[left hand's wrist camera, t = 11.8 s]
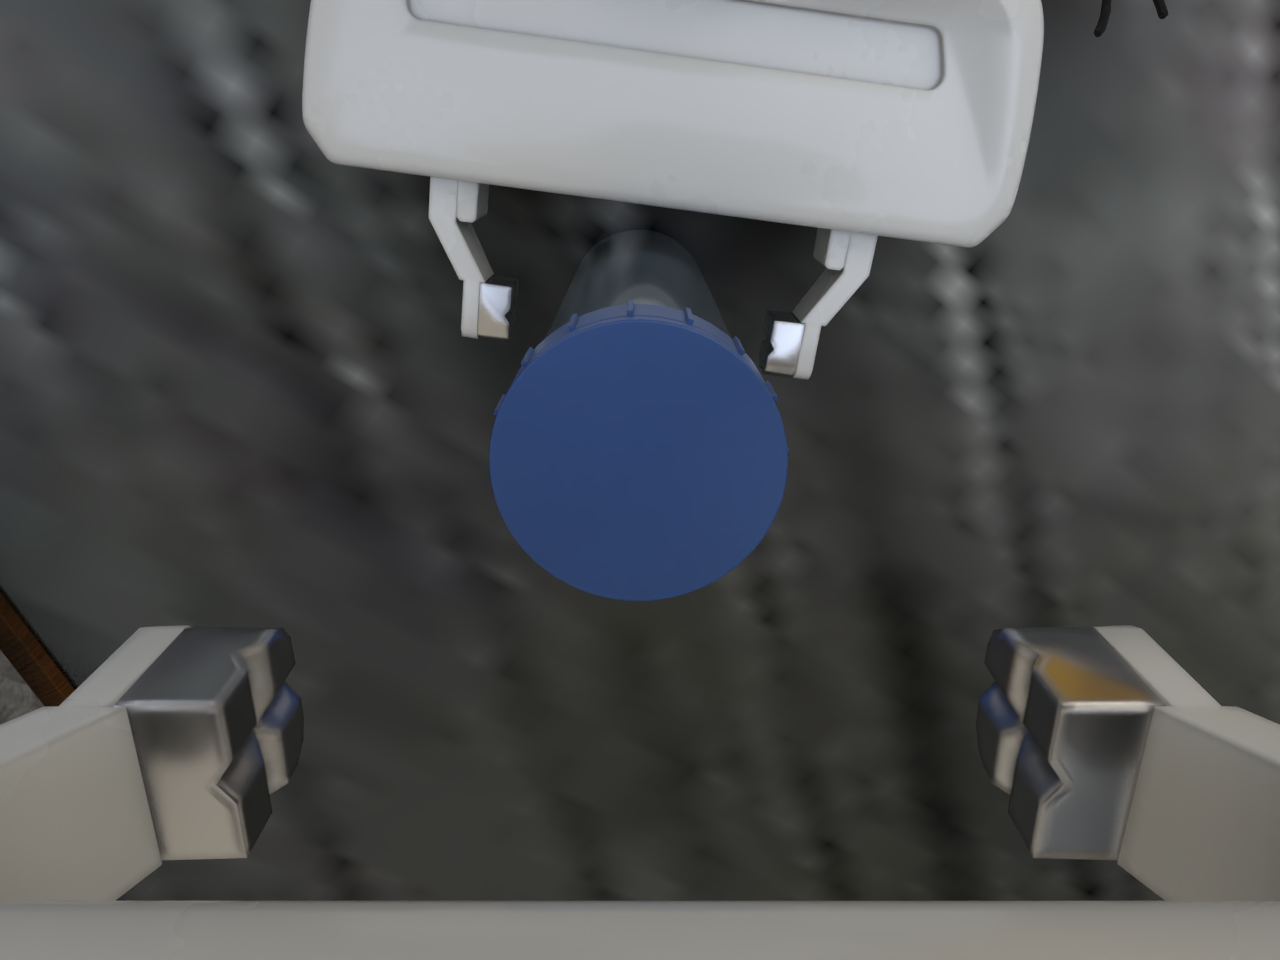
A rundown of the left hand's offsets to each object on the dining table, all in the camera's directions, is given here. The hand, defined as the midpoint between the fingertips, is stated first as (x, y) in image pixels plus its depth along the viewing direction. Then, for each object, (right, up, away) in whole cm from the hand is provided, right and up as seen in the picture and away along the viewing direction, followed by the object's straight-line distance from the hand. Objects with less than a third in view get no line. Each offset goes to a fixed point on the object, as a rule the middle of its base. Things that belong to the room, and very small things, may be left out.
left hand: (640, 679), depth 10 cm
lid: (0, +3, +7) cm, 7 cm away
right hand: (0, +6, +19) cm, 20 cm away
